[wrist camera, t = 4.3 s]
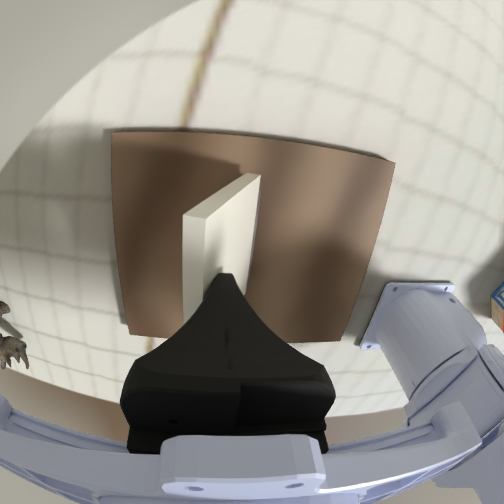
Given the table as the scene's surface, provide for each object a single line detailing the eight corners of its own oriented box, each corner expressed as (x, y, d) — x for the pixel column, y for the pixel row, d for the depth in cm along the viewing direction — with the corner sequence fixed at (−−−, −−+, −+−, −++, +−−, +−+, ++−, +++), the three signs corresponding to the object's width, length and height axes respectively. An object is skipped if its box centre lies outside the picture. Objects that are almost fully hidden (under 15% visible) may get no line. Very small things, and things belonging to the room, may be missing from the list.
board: (388, 160, 18) (403, 166, 16) (336, 333, 25) (343, 348, 23) (117, 131, 16) (105, 134, 14) (132, 326, 23) (127, 342, 21)
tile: (206, 219, 9) (180, 214, 9) (202, 380, 12) (185, 374, 13) (260, 174, 16) (245, 172, 16) (245, 292, 19) (233, 289, 20)
